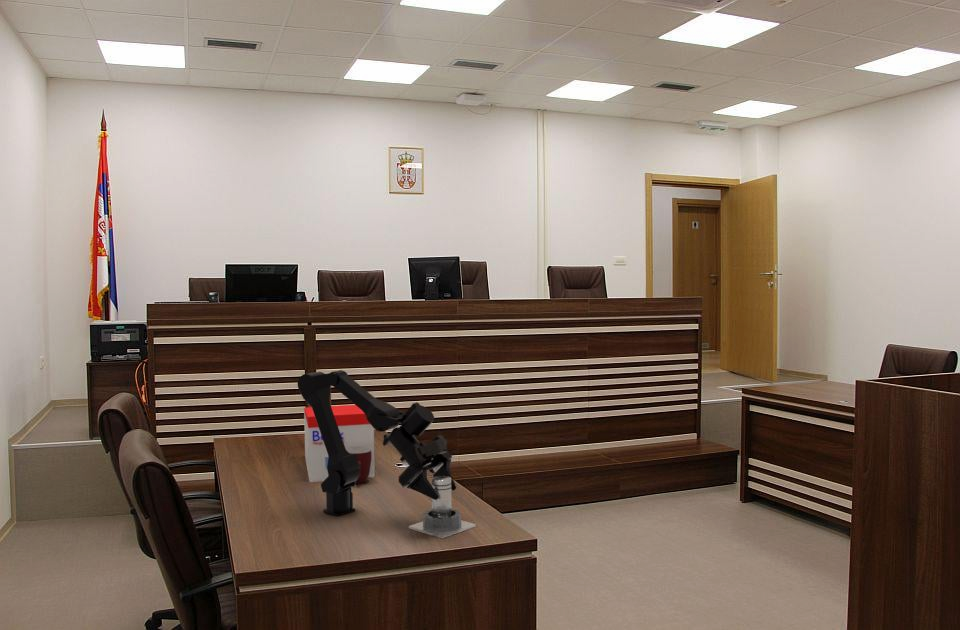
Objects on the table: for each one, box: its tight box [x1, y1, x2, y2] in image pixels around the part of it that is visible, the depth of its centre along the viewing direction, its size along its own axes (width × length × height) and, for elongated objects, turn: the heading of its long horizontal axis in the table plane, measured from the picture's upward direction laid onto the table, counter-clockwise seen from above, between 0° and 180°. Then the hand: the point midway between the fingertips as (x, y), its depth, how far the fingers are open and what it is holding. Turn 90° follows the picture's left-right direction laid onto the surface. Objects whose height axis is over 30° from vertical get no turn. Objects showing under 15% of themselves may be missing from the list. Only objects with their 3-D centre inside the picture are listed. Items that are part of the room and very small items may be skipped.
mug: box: [347, 448, 372, 485], centre depth 234 cm, size 11×8×10 cm
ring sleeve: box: [408, 507, 476, 539], centre depth 191 cm, size 12×12×4 cm
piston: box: [430, 476, 452, 518], centre depth 191 cm, size 5×5×12 cm
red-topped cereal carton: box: [303, 404, 376, 483], centre depth 255 cm, size 21×35×21 cm, turn 15°
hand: (446, 494), depth 190 cm, fingers open, 9 cm apart
